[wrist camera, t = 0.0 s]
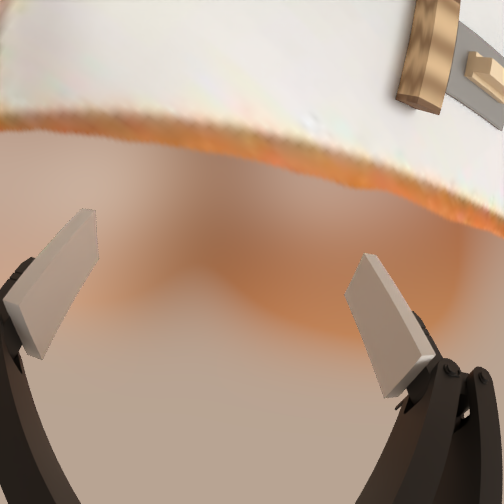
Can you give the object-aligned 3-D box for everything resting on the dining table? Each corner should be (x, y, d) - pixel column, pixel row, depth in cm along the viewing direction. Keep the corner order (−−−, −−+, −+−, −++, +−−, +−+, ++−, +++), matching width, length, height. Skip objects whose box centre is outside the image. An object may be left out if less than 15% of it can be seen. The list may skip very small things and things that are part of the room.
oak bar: (417, -8, 24) (439, -15, 19) (437, 4, 24) (460, -1, 19) (395, 99, 34) (417, 103, 29) (416, 109, 34) (439, 115, 29)
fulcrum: (455, 21, 25) (483, 19, 19) (511, 67, 28) (536, 72, 22) (442, 91, 32) (470, 96, 27) (498, 129, 35) (524, 140, 29)
